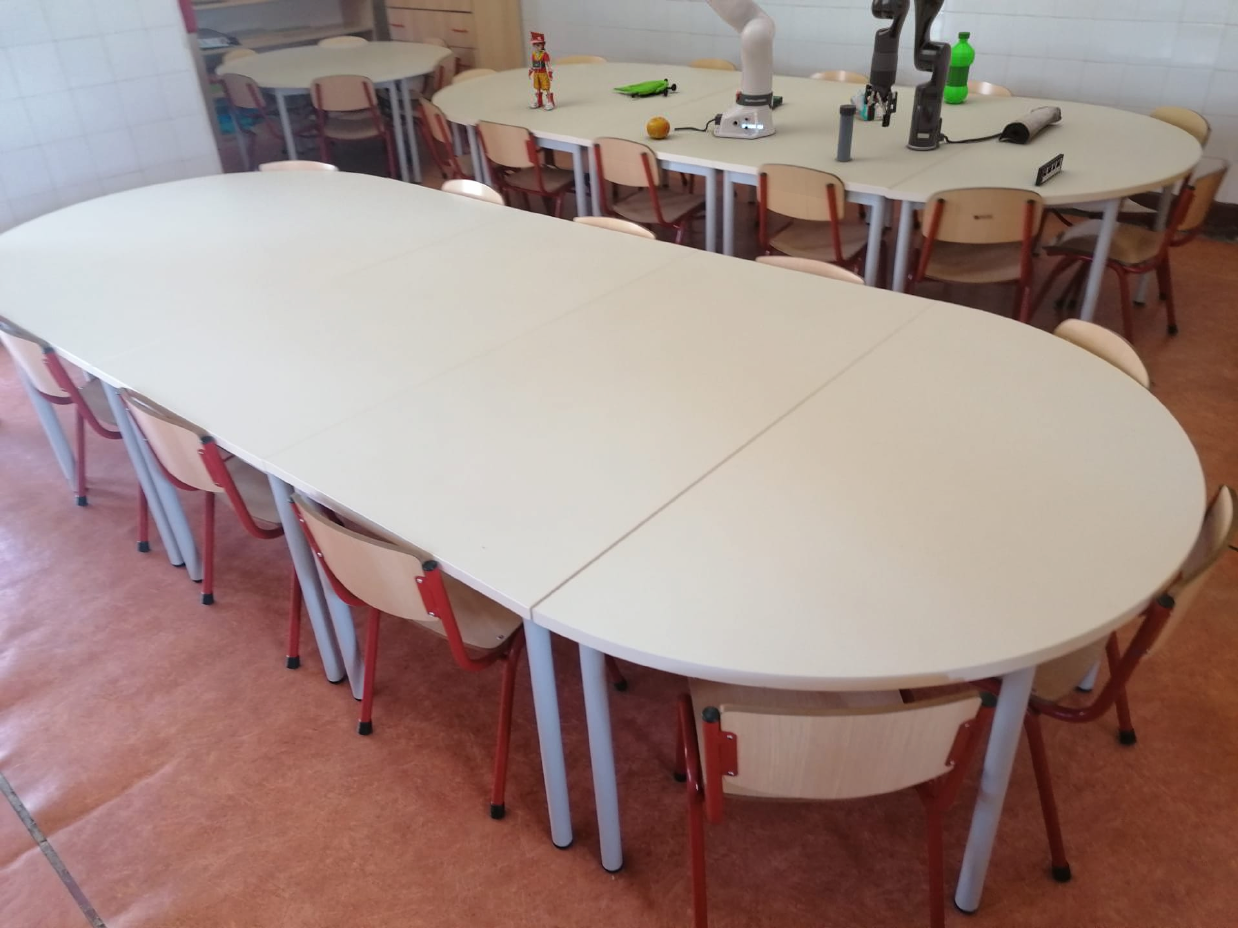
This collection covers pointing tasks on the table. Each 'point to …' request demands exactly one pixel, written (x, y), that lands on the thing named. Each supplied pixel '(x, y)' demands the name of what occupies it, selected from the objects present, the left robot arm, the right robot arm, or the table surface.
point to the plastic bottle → (959, 70)
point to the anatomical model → (863, 105)
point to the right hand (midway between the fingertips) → (877, 123)
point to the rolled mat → (1030, 124)
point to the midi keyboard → (1049, 169)
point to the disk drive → (777, 101)
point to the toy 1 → (541, 71)
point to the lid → (847, 109)
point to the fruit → (658, 127)
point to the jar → (845, 137)
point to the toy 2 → (648, 88)
